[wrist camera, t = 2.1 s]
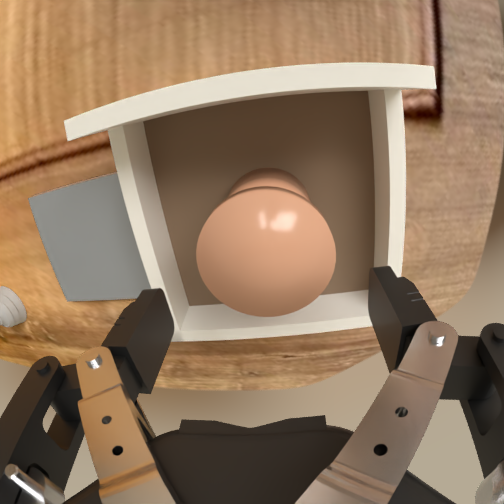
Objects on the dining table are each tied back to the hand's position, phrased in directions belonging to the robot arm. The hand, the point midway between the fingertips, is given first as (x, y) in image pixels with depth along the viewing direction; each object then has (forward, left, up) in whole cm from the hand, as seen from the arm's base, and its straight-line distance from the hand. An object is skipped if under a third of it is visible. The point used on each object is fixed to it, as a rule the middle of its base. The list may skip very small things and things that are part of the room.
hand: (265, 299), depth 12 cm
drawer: (0, 0, -11) cm, 10 cm away
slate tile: (+1, -14, -11) cm, 18 cm away
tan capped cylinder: (0, 0, -10) cm, 10 cm away
